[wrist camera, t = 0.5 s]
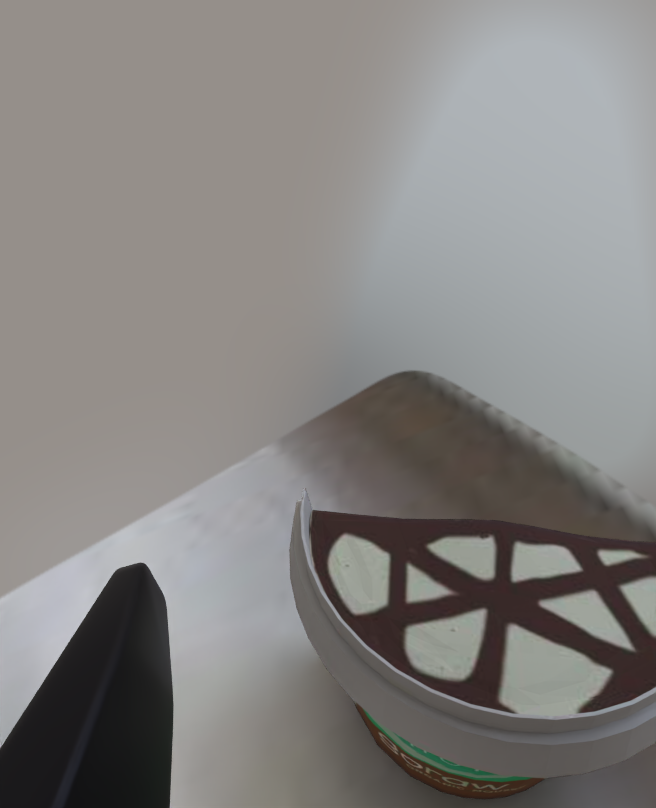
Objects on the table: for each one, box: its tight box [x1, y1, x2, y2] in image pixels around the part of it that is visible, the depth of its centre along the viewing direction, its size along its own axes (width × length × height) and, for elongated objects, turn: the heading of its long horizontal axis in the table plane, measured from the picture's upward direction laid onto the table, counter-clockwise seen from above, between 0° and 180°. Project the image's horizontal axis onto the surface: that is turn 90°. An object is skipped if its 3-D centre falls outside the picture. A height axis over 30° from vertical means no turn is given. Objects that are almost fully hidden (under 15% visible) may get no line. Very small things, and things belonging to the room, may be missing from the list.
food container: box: [289, 488, 656, 799], centre depth 17 cm, size 12×6×10 cm, turn 81°
